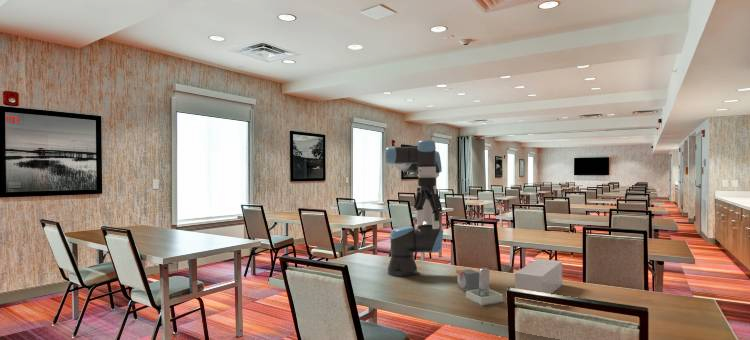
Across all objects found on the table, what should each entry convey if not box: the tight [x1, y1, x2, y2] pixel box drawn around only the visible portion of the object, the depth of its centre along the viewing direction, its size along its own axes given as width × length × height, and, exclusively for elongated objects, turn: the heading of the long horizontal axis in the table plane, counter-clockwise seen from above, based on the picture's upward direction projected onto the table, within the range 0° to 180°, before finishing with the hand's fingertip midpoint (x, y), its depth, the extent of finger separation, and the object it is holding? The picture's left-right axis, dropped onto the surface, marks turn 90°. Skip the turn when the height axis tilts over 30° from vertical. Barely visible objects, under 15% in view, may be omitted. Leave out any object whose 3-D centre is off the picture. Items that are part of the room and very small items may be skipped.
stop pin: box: [478, 267, 490, 297], centre depth 175 cm, size 4×4×12 cm
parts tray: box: [465, 288, 504, 307], centre depth 175 cm, size 10×10×3 cm
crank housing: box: [455, 268, 479, 293], centre depth 190 cm, size 7×8×9 cm
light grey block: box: [514, 258, 563, 294], centre depth 187 cm, size 32×11×11 cm, turn 144°
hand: (427, 226), depth 185 cm, fingers open, 13 cm apart
